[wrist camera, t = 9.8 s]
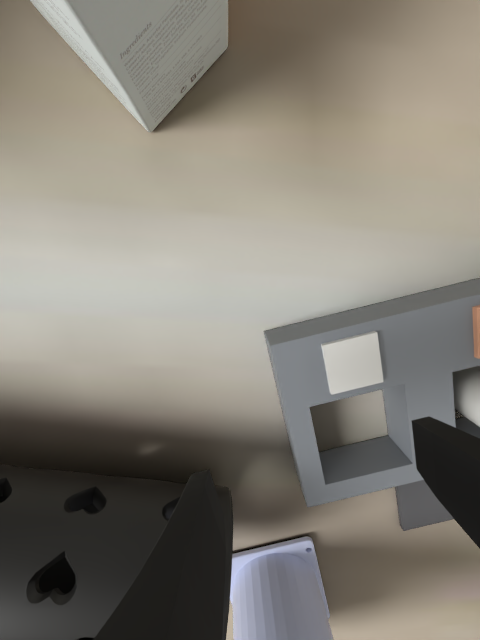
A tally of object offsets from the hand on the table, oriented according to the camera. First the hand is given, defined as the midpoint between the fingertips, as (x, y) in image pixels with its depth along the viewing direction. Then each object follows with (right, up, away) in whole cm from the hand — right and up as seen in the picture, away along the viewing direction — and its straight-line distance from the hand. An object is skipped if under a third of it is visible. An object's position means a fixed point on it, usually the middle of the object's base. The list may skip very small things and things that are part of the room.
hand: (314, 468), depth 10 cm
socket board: (+9, +1, +11) cm, 14 cm away
